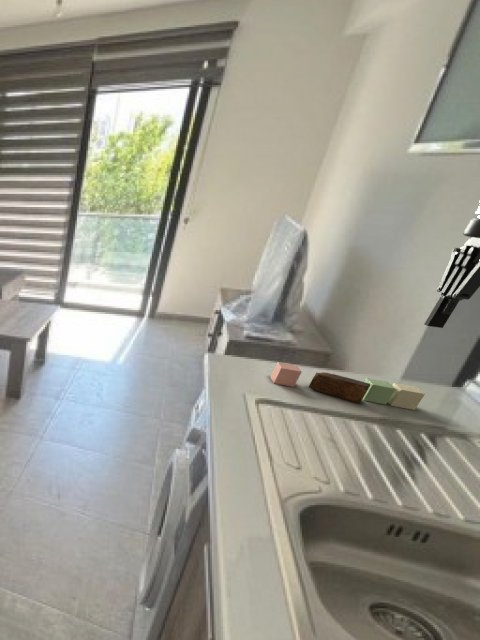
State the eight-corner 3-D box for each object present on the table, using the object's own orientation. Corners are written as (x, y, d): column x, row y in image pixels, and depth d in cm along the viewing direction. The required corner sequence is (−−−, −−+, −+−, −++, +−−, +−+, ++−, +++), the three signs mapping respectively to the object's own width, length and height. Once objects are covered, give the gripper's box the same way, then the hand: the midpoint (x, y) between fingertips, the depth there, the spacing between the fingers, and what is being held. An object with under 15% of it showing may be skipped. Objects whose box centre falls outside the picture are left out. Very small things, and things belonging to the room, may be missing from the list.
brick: (362, 400, 122) (371, 383, 120) (359, 404, 119) (369, 387, 117) (310, 384, 129) (318, 369, 127) (306, 388, 126) (315, 372, 124)
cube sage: (385, 404, 120) (395, 388, 118) (363, 400, 122) (372, 384, 120) (378, 397, 124) (388, 381, 121) (356, 393, 125) (366, 377, 123)
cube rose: (294, 387, 127) (301, 371, 125) (273, 383, 129) (281, 368, 126) (289, 380, 131) (297, 365, 128) (270, 377, 132) (277, 362, 130)
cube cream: (414, 410, 118) (425, 394, 116) (391, 405, 120) (401, 389, 117) (406, 402, 122) (416, 386, 119) (383, 398, 123) (393, 382, 121)
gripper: (457, 214, 107) (399, 316, 118) (494, 219, 96) (426, 331, 107) (502, 217, 104) (439, 321, 115) (546, 223, 94) (471, 337, 105)
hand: (433, 326), depth 111 cm, fingers closed
